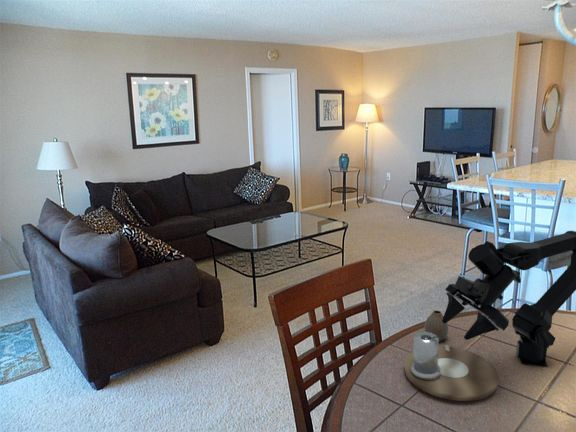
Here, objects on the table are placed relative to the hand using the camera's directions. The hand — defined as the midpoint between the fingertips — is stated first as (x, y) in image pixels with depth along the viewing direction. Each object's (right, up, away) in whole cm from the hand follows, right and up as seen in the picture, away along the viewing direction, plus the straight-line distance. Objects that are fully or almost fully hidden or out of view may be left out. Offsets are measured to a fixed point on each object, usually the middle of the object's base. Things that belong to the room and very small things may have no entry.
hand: (453, 330), depth 114 cm
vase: (+3, -8, +23) cm, 24 cm away
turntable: (0, -13, +3) cm, 13 cm away
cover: (-7, -11, +1) cm, 13 cm away
